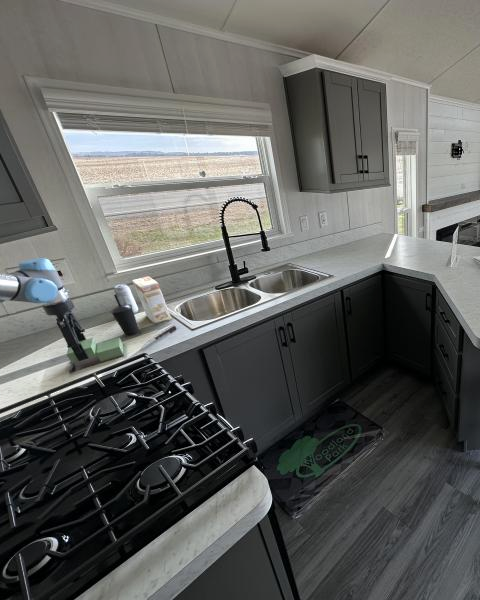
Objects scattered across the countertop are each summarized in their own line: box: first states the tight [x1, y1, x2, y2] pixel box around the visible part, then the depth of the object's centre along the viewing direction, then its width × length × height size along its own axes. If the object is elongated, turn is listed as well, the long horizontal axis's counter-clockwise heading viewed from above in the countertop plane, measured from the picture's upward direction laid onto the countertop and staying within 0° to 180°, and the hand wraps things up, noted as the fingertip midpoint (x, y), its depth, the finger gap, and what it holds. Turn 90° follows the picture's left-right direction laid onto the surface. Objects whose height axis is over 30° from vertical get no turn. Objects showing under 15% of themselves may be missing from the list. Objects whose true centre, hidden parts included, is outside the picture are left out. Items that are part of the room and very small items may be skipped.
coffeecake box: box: [131, 275, 172, 324], centre depth 157 cm, size 15×7×20 cm, turn 49°
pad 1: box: [66, 337, 98, 363], centre depth 125 cm, size 7×9×4 cm
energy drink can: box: [113, 283, 139, 314], centre depth 164 cm, size 6×6×15 cm
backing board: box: [68, 343, 125, 374], centre depth 129 cm, size 16×12×2 cm
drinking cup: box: [109, 294, 140, 337], centre depth 142 cm, size 8×8×20 cm
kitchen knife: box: [141, 325, 177, 349], centre depth 142 cm, size 18×1×2 cm, turn 169°
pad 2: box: [96, 337, 124, 362], centre depth 131 cm, size 7×9×4 cm
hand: (84, 353), depth 126 cm, fingers closed on pad 1, 9 cm apart
